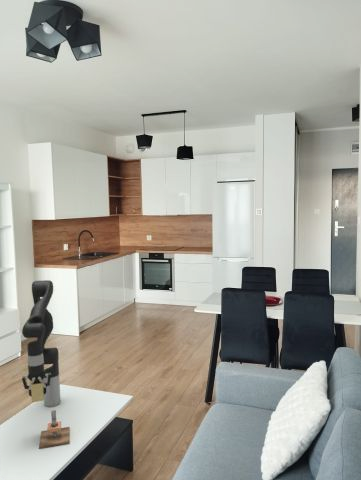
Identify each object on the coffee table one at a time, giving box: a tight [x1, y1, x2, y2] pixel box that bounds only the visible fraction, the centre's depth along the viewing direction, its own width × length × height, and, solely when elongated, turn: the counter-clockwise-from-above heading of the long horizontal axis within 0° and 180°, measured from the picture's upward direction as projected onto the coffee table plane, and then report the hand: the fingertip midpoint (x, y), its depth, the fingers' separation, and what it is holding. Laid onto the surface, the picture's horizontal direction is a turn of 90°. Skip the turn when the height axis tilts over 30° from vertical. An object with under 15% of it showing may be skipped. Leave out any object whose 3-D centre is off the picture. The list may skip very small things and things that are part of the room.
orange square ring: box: [46, 420, 62, 433], centre depth 203 cm, size 6×6×2 cm
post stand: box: [38, 410, 71, 450], centre depth 203 cm, size 14×14×14 cm
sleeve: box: [31, 382, 44, 403], centre depth 205 cm, size 6×6×9 cm
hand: (37, 394), depth 205 cm, fingers closed on sleeve, 5 cm apart
